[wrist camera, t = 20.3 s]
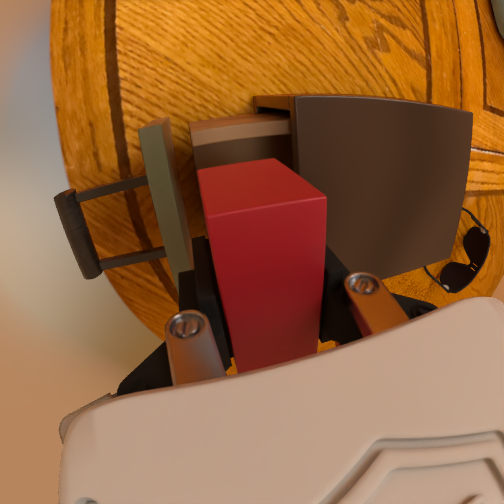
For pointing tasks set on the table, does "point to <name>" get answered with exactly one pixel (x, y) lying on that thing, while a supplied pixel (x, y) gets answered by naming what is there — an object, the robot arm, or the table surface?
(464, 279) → the sunglasses
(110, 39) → the table surface
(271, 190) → the red rectangular block
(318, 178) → the cabinet
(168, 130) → the drawer
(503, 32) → the teapot
